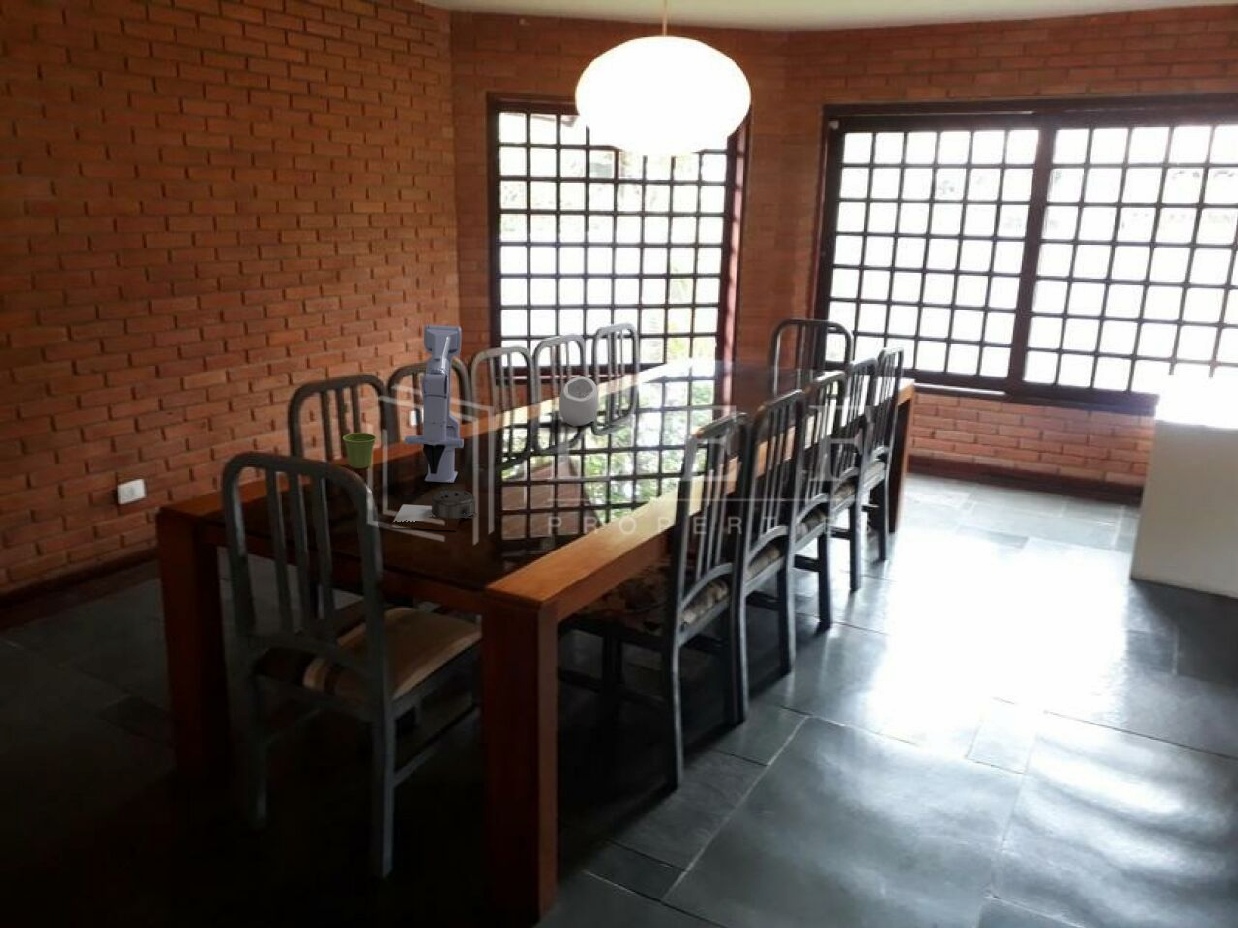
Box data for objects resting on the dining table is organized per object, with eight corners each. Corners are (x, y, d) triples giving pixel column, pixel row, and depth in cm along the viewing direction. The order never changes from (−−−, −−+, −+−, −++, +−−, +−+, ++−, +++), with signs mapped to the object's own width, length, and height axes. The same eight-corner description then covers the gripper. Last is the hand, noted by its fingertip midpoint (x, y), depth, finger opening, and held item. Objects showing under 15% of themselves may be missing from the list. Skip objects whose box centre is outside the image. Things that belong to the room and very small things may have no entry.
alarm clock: (421, 507, 244) (454, 530, 233) (422, 488, 242) (455, 510, 231) (458, 501, 251) (492, 523, 239) (459, 482, 249) (493, 503, 238)
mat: (403, 506, 246) (403, 504, 246) (465, 509, 247) (465, 507, 247) (390, 527, 231) (390, 526, 231) (456, 531, 231) (456, 529, 231)
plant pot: (341, 470, 271) (341, 441, 268) (344, 460, 280) (344, 432, 277) (375, 470, 273) (375, 441, 270) (377, 461, 282) (377, 433, 279)
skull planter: (604, 411, 353) (603, 371, 340) (593, 447, 339) (591, 407, 326) (568, 407, 355) (565, 367, 342) (556, 443, 341) (552, 403, 328)
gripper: (402, 423, 235) (402, 475, 238) (461, 427, 235) (460, 479, 239) (408, 416, 241) (407, 467, 245) (465, 420, 242) (464, 470, 246)
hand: (434, 472), depth 243 cm, fingers closed
